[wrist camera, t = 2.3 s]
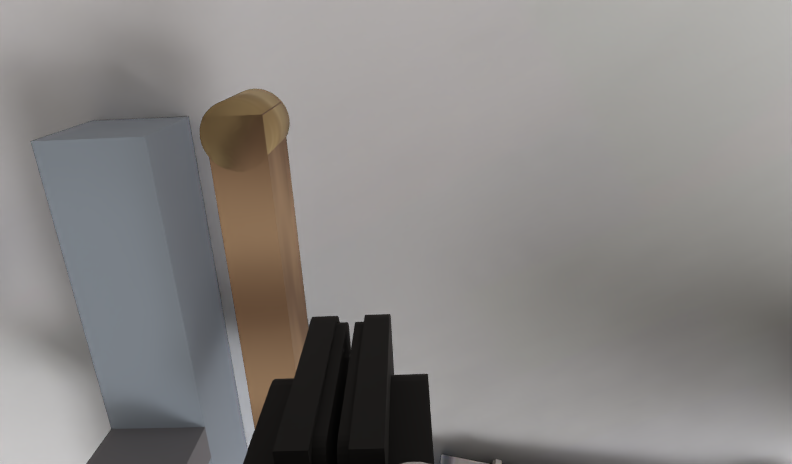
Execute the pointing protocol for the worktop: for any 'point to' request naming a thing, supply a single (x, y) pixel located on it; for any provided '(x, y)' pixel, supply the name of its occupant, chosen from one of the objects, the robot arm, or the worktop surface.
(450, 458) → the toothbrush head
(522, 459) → the worktop surface
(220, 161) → the bar
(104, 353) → the door board
